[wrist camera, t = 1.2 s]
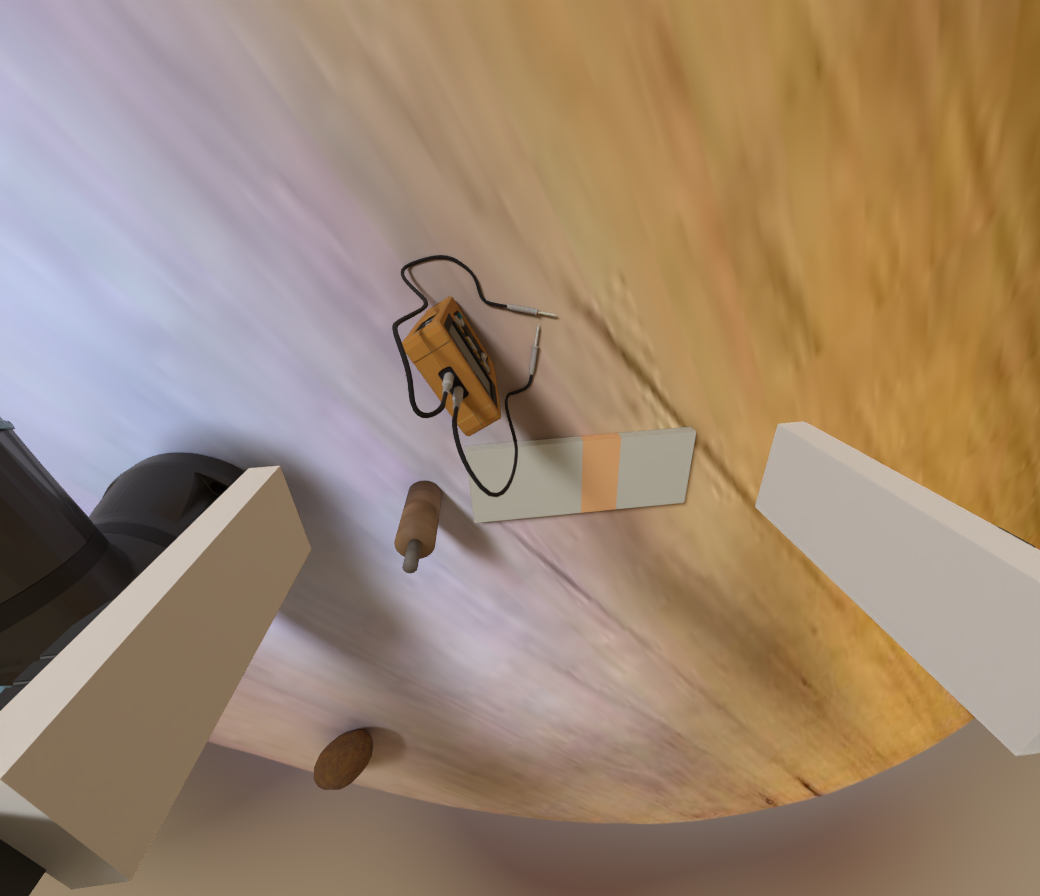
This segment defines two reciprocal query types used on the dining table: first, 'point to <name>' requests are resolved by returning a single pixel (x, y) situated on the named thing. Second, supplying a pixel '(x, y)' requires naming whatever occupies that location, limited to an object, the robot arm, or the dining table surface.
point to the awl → (418, 524)
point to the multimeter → (457, 367)
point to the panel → (581, 473)
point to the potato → (343, 760)
